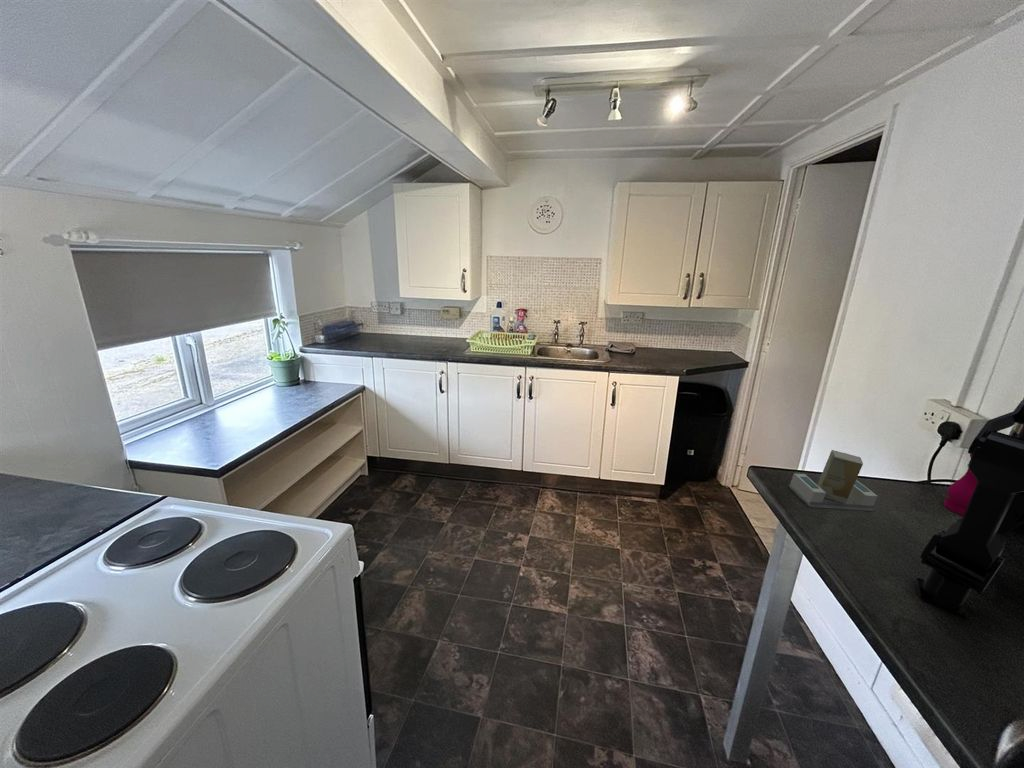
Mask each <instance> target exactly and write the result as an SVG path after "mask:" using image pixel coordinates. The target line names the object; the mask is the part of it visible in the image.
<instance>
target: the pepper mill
mask: <svg viewBox="0 0 1024 768" xmlns="http://www.w3.org/2000/svg"><path fill="white" fill-rule="evenodd" d="M971 456H972V454H969V457H970V459H971ZM969 463H970V460H969V461H968V463H967V468H968V466H969ZM977 482H978V480H977V479H976V477H975V476H974V475H973V473H972V472H971V471H970V469H969V468H968V469H967V470H966V472H965V474H964V475H963V476H961V477H960V478H959V479H958V480H956V481H954V482H953V483H952V484H950V486H949V487H948V488H947V490H946V491H947V495H948V496H947V497H946V498H945V500H944V502H943V505H944V507H945V508H946V509H948V510H949V511H951V512H953V513H955V514H958V515H960V516H964V514H965V511H966V509H967V507H968V504H969V502H970V499H971V497H972V495H973V492H974V490H975V487H976V485H977Z"/></svg>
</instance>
